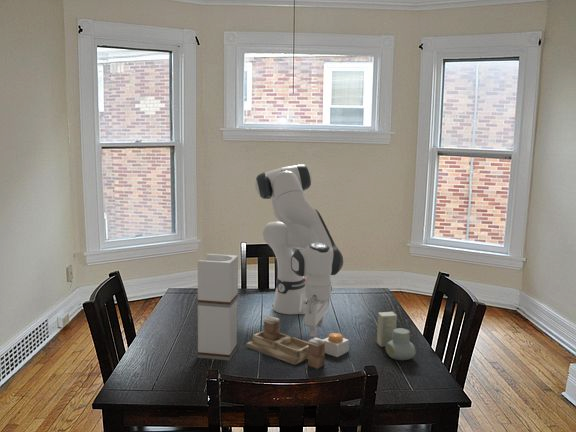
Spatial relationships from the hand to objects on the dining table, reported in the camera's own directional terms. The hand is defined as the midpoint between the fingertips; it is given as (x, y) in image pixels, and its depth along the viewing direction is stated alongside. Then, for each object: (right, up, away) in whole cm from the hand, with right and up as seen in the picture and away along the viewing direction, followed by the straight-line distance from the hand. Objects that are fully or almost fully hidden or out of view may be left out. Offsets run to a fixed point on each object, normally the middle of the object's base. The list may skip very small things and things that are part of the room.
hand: (316, 331), depth 195 cm
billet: (0, -12, +2) cm, 13 cm away
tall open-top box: (-35, -10, +11) cm, 38 cm away
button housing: (+8, -10, +14) cm, 19 cm away
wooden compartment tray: (-12, -10, +15) cm, 21 cm away
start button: (+8, -8, +14) cm, 17 cm away
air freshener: (+31, -12, +11) cm, 34 cm away
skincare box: (+27, -10, +22) cm, 37 cm away
